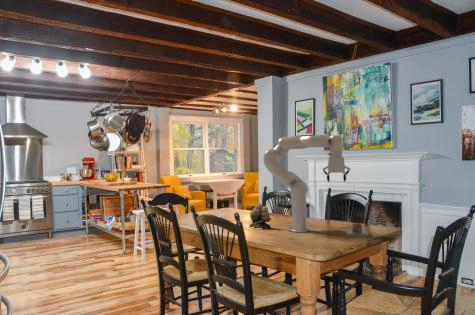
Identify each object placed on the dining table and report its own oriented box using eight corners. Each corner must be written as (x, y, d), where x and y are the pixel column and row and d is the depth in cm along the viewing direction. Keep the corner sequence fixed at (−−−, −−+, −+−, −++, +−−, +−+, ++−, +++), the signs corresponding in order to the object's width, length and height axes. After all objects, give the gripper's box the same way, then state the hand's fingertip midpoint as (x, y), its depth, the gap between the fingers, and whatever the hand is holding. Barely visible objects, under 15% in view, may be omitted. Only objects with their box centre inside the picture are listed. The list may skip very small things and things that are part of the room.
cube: (353, 232, 226) (353, 224, 227) (352, 231, 231) (352, 223, 231) (361, 233, 226) (361, 224, 226) (360, 231, 231) (360, 223, 231)
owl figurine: (275, 227, 259) (275, 203, 259) (265, 230, 250) (265, 205, 250) (255, 225, 271) (255, 201, 271) (245, 227, 262) (244, 203, 262)
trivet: (348, 236, 224) (348, 233, 224) (345, 232, 235) (345, 230, 235) (369, 237, 221) (368, 234, 222) (365, 233, 233) (365, 230, 233)
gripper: (322, 154, 236) (322, 182, 236) (350, 154, 233) (351, 181, 232) (321, 155, 243) (322, 181, 243) (349, 154, 240) (349, 181, 240)
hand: (336, 181), depth 238 cm, fingers open, 9 cm apart
